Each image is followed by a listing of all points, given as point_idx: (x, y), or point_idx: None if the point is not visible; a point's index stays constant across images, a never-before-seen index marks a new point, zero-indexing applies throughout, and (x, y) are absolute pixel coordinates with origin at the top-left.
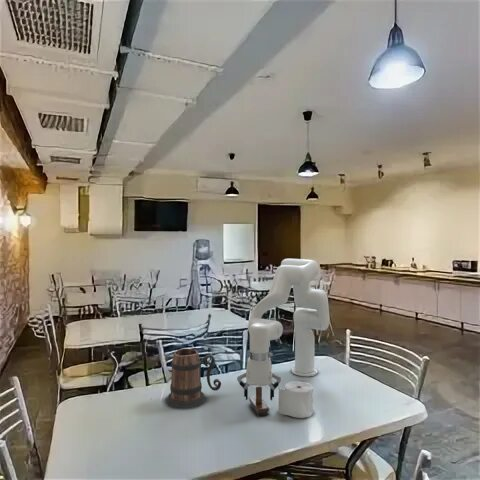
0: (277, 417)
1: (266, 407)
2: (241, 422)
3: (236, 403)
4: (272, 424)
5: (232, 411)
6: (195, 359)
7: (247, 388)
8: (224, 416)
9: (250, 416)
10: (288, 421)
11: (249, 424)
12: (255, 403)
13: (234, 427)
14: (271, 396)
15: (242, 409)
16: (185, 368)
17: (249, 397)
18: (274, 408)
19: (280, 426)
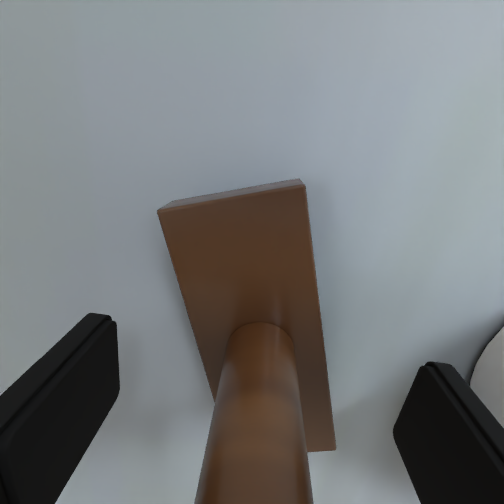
0: (377, 419)
1: (314, 446)
2: (127, 441)
3: (53, 152)
4: (315, 480)
5: (45, 306)
6: None
7: (10, 489)
8: (3, 367)
9: (186, 387)
10: None
11: (176, 464)
12: (221, 367)
13: (92, 477)
14: (425, 490)
15: (123, 282)
16: None
17: (159, 216)
18: (409, 293)
19: (356, 500)
